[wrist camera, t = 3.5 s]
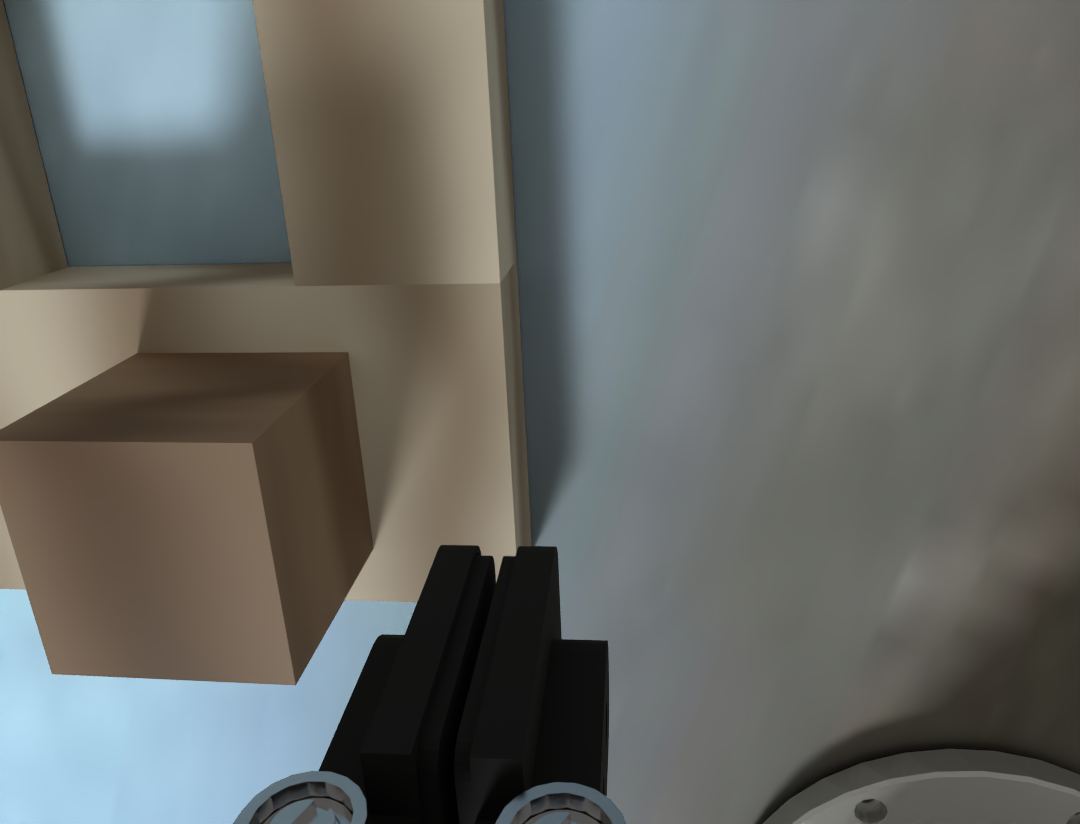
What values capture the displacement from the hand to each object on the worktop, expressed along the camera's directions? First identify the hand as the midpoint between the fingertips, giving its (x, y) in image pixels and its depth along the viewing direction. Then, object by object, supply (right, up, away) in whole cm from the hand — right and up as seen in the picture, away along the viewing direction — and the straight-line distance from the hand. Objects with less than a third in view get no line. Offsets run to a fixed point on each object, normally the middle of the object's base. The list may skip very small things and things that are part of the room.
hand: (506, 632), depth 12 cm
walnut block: (-6, +2, +8) cm, 10 cm away
